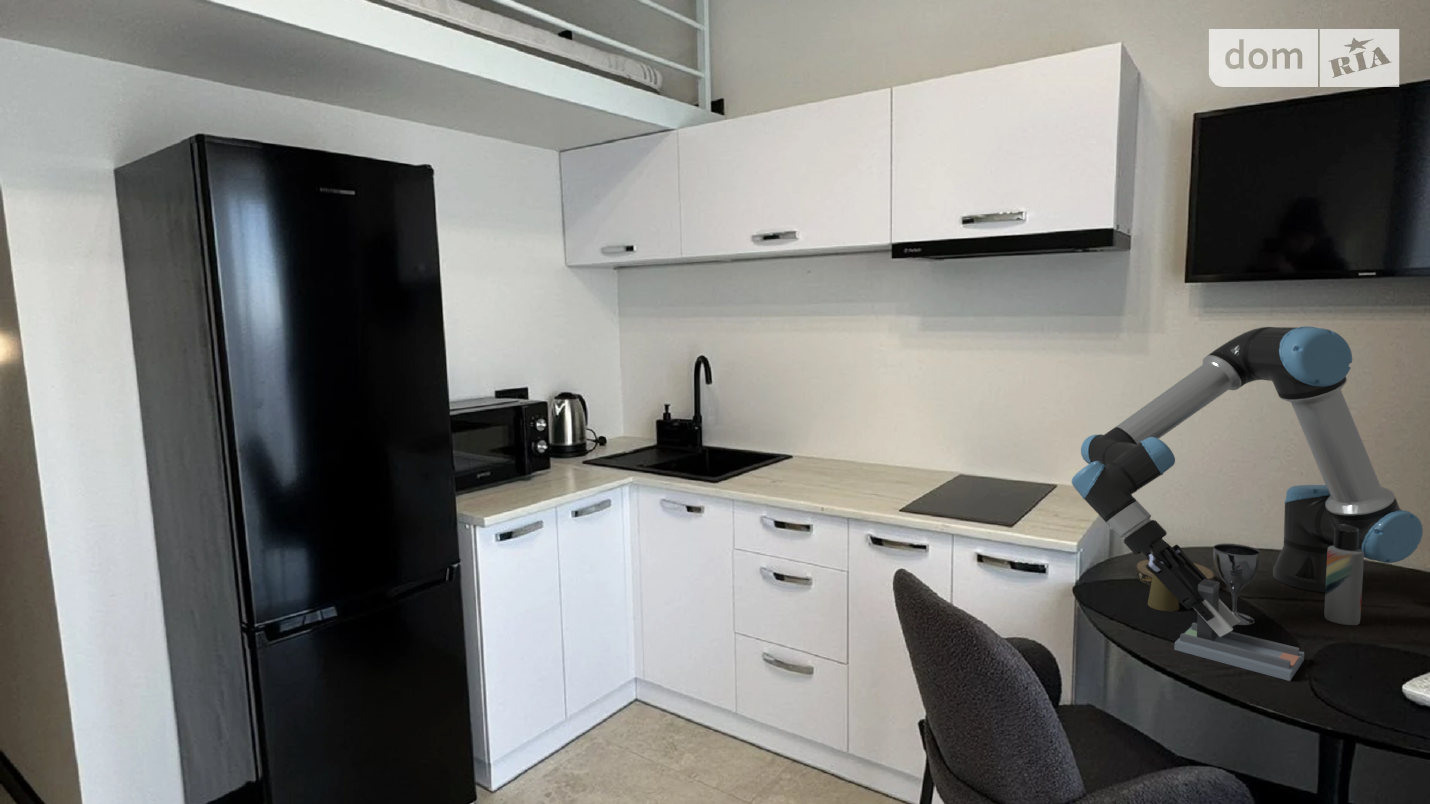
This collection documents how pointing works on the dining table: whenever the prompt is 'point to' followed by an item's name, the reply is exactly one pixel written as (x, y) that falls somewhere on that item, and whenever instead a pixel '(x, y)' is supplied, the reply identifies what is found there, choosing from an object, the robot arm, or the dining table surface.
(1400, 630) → the dining table surface
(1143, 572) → the wood slice
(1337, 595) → the lotion bottle
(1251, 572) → the wine glass
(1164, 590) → the cork
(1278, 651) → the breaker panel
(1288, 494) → the robot arm
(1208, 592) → the handle
